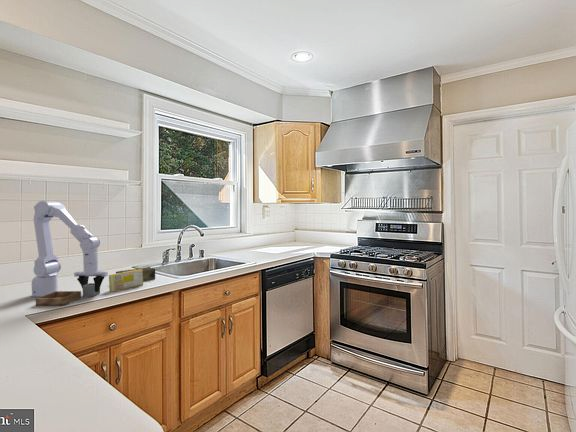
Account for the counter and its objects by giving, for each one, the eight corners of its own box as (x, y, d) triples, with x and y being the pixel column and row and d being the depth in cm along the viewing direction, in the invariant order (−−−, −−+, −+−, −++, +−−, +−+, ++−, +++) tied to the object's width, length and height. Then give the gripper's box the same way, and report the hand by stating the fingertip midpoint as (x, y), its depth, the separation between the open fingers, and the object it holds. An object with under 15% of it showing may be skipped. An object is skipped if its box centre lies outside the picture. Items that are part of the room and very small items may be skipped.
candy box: (141, 284, 172) (141, 269, 171) (143, 285, 170) (143, 269, 170) (109, 291, 159) (108, 274, 159) (110, 291, 158) (110, 274, 157)
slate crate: (82, 296, 149) (82, 285, 149) (89, 293, 154) (89, 283, 154) (93, 296, 149) (93, 285, 149) (100, 293, 154) (99, 283, 154)
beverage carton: (156, 279, 185) (155, 267, 184) (120, 285, 170) (120, 273, 170) (149, 277, 190) (149, 265, 190) (114, 283, 175) (114, 271, 175)
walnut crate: (35, 305, 136) (35, 298, 136) (55, 297, 148) (55, 291, 148) (63, 305, 136) (63, 298, 136) (81, 297, 148) (80, 291, 147)
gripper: (110, 261, 155) (111, 289, 156) (80, 261, 155) (81, 289, 156) (102, 263, 148) (103, 293, 149) (70, 264, 148) (71, 293, 149)
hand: (91, 291), depth 152 cm, fingers closed on slate crate, 5 cm apart
